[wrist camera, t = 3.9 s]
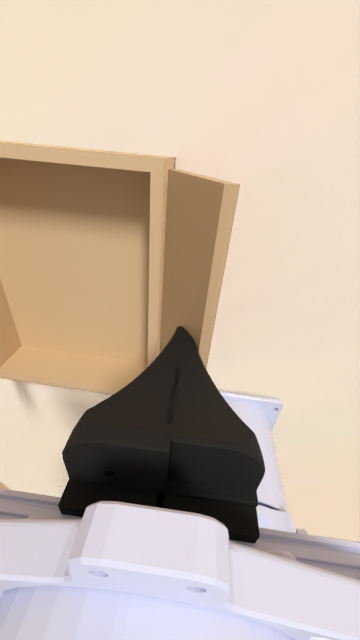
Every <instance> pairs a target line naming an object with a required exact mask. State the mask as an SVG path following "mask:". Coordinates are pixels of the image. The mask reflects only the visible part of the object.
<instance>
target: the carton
mask: <svg viewBox="0 0 360 640" xmlns="http://www.w3.org/2000/svg"><path fill="white" fill-rule="evenodd" d="M175 159H176V158H173V157H163V156H152V155H142V154H131V153H121V152H110V151H100V150H89V149H79V148H68V147H58V146H47V145H37V144H26V143H16V142H5V141H0V378H2V379H9V380H16V381H23V382H30V383H37V384H44V385H51V386H58V387H64V388H71V389H78V390H85V391H92V392H99V393H106V394H113V395H114V394H115V393H117V392H118V391H119V390H121V389H122V388H124V387H125V386H126V385H128V384H129V383H130V382H132V381H133V380H134V379H135V378H136V377H137V376H139V375H140V374H141V373H142V372H143V371H144V370H145V369H146V368H147V367H148V366H149V365H150V364H151V363H152V362H153V361H154V360H155V359H156V357H157V356H158V355H159V353H160V332H161V311H162V289H163V268H164V247H165V225H166V204H167V183H168V169H175Z"/></svg>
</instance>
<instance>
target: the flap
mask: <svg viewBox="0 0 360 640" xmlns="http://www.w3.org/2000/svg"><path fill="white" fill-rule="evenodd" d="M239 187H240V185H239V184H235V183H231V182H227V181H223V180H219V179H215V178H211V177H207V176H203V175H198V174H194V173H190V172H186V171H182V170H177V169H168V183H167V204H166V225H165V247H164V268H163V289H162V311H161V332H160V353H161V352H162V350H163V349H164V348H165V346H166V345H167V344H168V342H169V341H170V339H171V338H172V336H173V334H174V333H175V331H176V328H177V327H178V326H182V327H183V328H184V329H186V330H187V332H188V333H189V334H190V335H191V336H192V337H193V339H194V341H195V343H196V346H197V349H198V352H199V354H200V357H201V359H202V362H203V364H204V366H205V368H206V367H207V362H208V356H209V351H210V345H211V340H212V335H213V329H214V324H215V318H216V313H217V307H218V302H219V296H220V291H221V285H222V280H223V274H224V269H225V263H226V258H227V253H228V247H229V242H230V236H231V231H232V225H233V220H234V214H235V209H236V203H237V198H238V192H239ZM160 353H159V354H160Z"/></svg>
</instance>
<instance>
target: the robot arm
mask: <svg viewBox="0 0 360 640" xmlns="http://www.w3.org/2000/svg"><path fill="white" fill-rule="evenodd" d="M282 406H283V405H282V402H281V401H280V400H278V399H271V398H264V397H257V396H250V395H243V394H236V393H229V392H222V391H218V389H217V388H216V386H215V384H214V383H213V381H212V379H211V378H210V376H209V374H208V372H207V370H206V368H205V366H204V364H203V362H202V359H201V357H200V354H199V352H198V349H197V346H196V343H195V341H194V339H193V337H192V336H191V335H190V334H189V333H188V332H187V330H186V329H184V328H183V327H182V326H178V327H177V328H176V331H175V333H174V334H173V336H172V338H171V339H170V341H169V342H168V344H167V345H166V346H165V348H164V349H163V350H162V352H161V353H160V354H159V355H158V356H157V357H156V359H155V360H154V361H153V362H152V363H151V364H150V365H149V366H148V367H147V368H146V369H145V370H144V371H143V372H142V373H141V374H140V375H139V376H137V377H136V378H135V379H134V380H133V381H132V382H130V383H129V384H128V385H126V386H125V387H124V388H122V389H121V390H119V391H118V392H117V393H115V394H114V395H112V396H111V397H109V398H108V399H106V400H104V401H102V402H101V403H99V404H97V405H95V406H94V407H92V408H90V409H88V410H86V411H85V413H84V414H83V416H82V417H81V418H80V420H79V422H78V423H77V425H76V426H75V428H74V429H73V431H72V433H71V435H70V437H69V439H68V441H67V444H66V446H65V448H64V450H63V452H62V455H63V460H64V463H65V466H66V469H67V472H68V475H69V478H70V479H69V481H68V483H67V485H66V488H65V490H64V492H63V495H62V497H61V498H60V497H53V496H46V495H40V494H33V493H26V492H20V491H13V490H6V489H0V640H360V542H354V541H347V540H341V539H334V538H327V537H321V536H314V535H308V533H307V531H306V530H304V529H296V533H295V531H294V526H293V521H292V517H291V513H290V512H289V511H288V509H287V505H286V500H285V495H284V490H283V485H282V481H281V476H280V471H279V466H278V461H277V457H276V452H275V447H274V442H273V437H272V433H271V431H272V428H273V426H274V424H275V422H276V420H277V417H278V415H279V413H280V411H281V408H282Z"/></svg>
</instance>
